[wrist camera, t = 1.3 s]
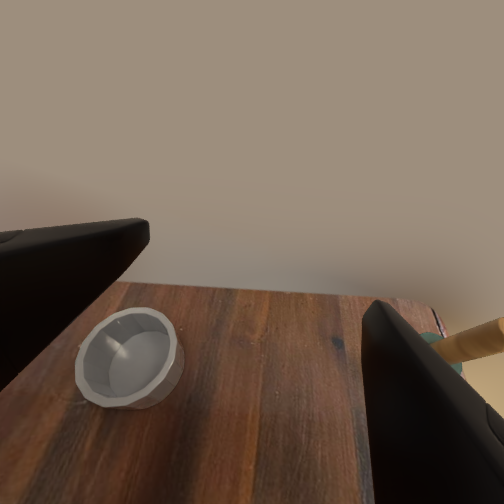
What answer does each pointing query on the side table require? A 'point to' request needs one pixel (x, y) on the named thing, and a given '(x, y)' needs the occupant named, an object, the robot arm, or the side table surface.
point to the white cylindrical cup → (130, 360)
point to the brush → (469, 343)
